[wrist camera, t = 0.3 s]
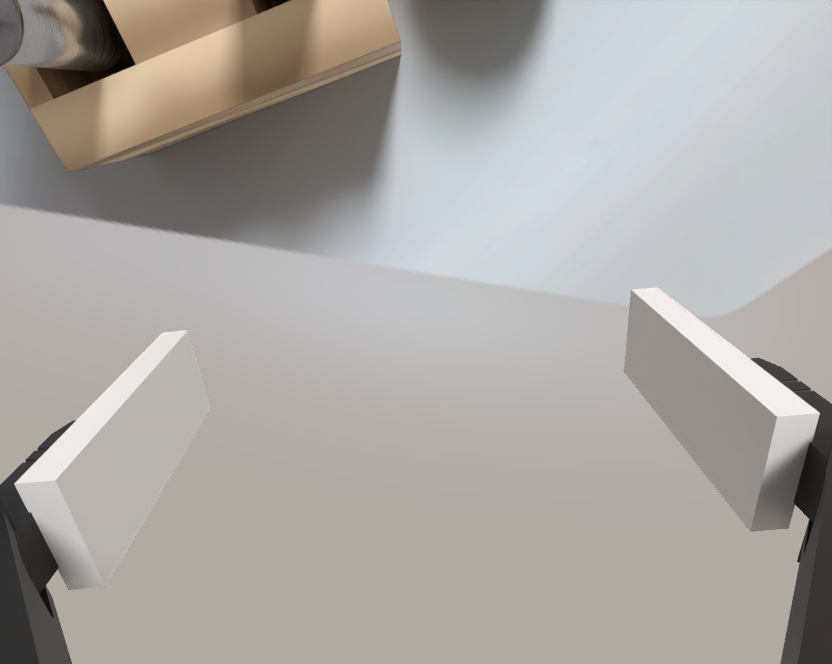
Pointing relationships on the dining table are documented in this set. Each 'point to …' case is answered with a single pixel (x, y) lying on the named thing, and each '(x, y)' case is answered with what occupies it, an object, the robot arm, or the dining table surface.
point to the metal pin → (58, 35)
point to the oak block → (200, 70)
